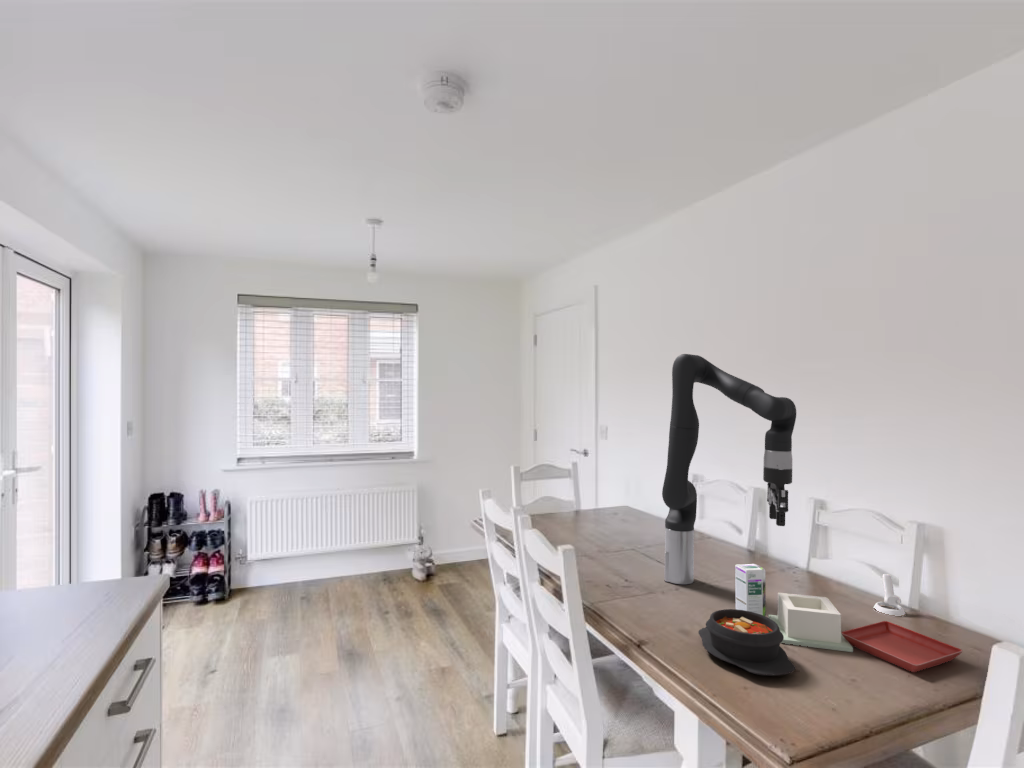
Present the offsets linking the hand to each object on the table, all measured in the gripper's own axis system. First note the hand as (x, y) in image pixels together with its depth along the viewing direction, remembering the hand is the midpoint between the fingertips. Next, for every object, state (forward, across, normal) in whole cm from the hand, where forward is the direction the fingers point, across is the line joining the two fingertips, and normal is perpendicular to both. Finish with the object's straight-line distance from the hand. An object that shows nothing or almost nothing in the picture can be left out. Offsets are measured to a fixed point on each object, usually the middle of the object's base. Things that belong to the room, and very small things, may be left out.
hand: (776, 522), depth 158 cm
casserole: (+26, +32, -14) cm, 44 cm away
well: (+25, +15, +4) cm, 30 cm away
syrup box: (+26, +8, -8) cm, 28 cm away
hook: (+26, -8, +32) cm, 42 cm away
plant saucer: (+26, +20, +23) cm, 40 cm away
